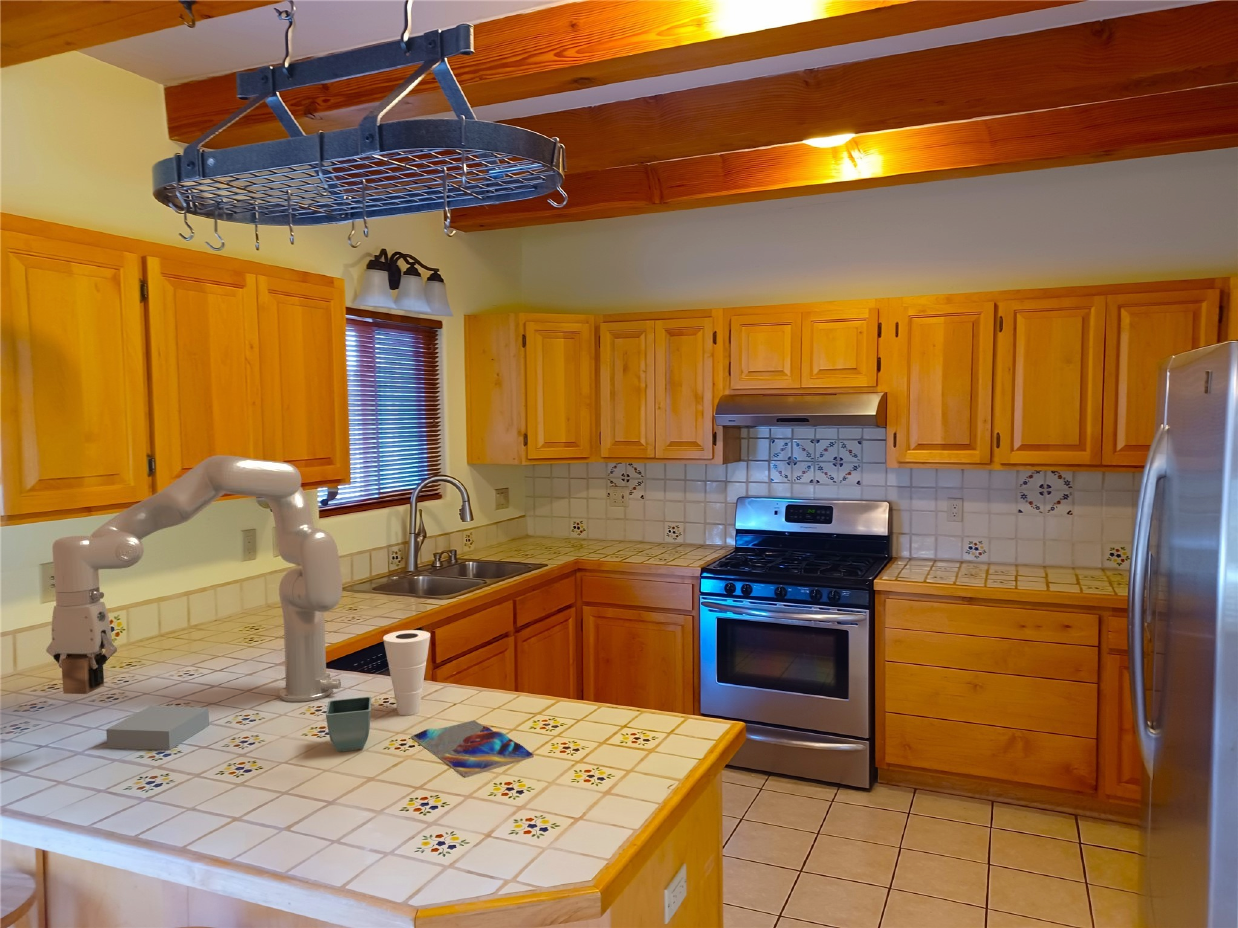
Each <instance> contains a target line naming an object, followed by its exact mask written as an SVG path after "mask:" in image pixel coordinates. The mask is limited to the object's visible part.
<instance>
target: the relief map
mask: <svg viewBox="0 0 1238 928" xmlns="http://www.w3.org/2000/svg"><path fill="white" fill-rule="evenodd" d="M410 738H411V739H413V741H414V742H416V743H417V744H418V745H420V746H422V747H423V748H424V749H425V750H427V751H428V752H430V753H432V754H433V755H434V756H435V757H436V758H438V759H439V760H441V761H442V762H444V763H445V764H446V765H448V766H449V767H451V768H452V769H453V770H455V771H456V772H457V773H459V775H461V776H463V777H464V778H469V777H472V776H475V775H480V774H482V773H486V772H489V771H493V770H495V769H499V768H502V767H506V766H510V765H512V764H515V763H518V762H522V761H526V760H529V759H532V758H534V753H532V752H531V751H529V750H528V749H527V748H526V747H525V746H524V745H522V744H521V743H518V742H516V741H514V740H513V739H512V738H510V737H509V736H508V735H507V734H505V733H504V732H503V731H500V730H493V729H492V728H491V727H489V726H485V725H483V724H481V723H479V722H478V721H476V720H475V719H473V720H470V721H465V722H461V723H458V724H453V725H449V726H445V727H439V728H426V729H425V730H422V731H420V732H418V733H415V734H414V735H411V736H410Z"/></svg>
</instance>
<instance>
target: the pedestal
mask: <svg viewBox="0 0 1238 928" xmlns="http://www.w3.org/2000/svg"><path fill="white" fill-rule="evenodd" d="M209 711H210V710H209V707H197V706H196V707H195V706H163V705H162V706H161V705H149V706H148V707H145V708H143V709H142V710H140V711H138V712H136V713H134V714H132V715H130V716H128V717H127V718H125V719H123V720H121V721H119V722H117V723H115V724H113V725H112V726H110V727H108V728H106V748H107V749H125V750H126V749H130V750H133V749H134V750H152V751H153V750H157V751H158V750H159V751H170V750H172V749H174V748H176V747H177V746H178V745H180V744H182V743H183V742H185V741H186V740H188V739H190V738H192V736H193V737H194V735H196V734H198V733H199V732H201V731H203V730H204V729H205V728H208V727H209V726H210V714H209V713H210V712H209Z"/></svg>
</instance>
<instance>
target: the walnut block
mask: <svg viewBox="0 0 1238 928" xmlns="http://www.w3.org/2000/svg"><path fill="white" fill-rule="evenodd" d="M95 656H96V659H97V655H95ZM61 665H62V668H61V676H62V679H61V680H62V690H63V691H62V692H63V694H64V695H65V694H66V695H87V694H90V693H92V692H95V691H96V690H98V689H100V688H103V687H105V682H104V683H103V684H101V685H99V686H97V687H95V688H90V680H89V669H90V668H92V667H91V665H90V662H89V658H88V656H87V654H74V655H71V656H69V657H67V658H64V659H61Z"/></svg>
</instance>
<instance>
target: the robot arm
mask: <svg viewBox="0 0 1238 928" xmlns="http://www.w3.org/2000/svg"><path fill="white" fill-rule="evenodd" d="M225 494H229V495H235V496H236V495H238V496H245V497H257V498H262V499H264V500H265V501H266V502H267V504H268V505H269V507H270V509H271V512H272V516H273V521H274V525H275V526H274V527H275V532H276V541H277V546H278V547H277V548H278V552H279V553H278V554H279V556H280V558H281V559H282V560H284V561H285V562H286V563H288V564H293V565H296V566H300V567H295V568H293V569H290V570H289V571H288V572H286V573H285V574H284V575H282V578H281V580H280V582H279V586H278V597H279V601H280V606H281V610H282V618H283V639H284V640H283V642H284V670H285V671H284V674H285V686H284V687H283V688H282V689H280V690H279V692H278V693H279V696H278V697H279V699H281V700H283V701H286V702H293V703H294V702H295V703H296V702H298V703H299V702H309V701H316V700H319V699H323V698H325V697H327V696H329V695H331V694H332V693H333V692H334V690H340V689H341V687H342V682H341V679H340V678H331V672H327V661H326V659H327V658H326V625H325V622H326V621H325V616H324V613H325V612H329V611H331V610H333V609H334V608H336V606H337V605H339V603H340V601H341V599H342V596H343V580H342V570H341V564H340V563H341V562H340V557H339V549H338V545H337V543H336V541H335V539H334V537H333V536H332V535H331V533H329V532H327V531H326V530H324V529H322V528H317V527H315V526H314V523H313V518H312V517H313V516H312V513H311V508H310V503H309V499H308V497H307V494H306V493H305V492H304V489H303V487H302V475H301V473H300V471H299V470H298V468H297V467H296V466H295V465H293V464H292V463H289V462H284V461H276V460H275V461H273V460H268V459H267V460H265V459H255V458H248V457H243V456H242V457H241V456H235V455H213V456H210V457H207V458H205V459H204V460H202V461H201V462H200V463H198V464H197V465H195V466H194V467H192V468H191V469H190V470H188V471H187V472H186V473H184V474H183V475H181V476H180V477H179V478H178V479H176V480H175V481H173V482H171V484H169V485H168V486H166V487H165V488H164V489H162V490H161V491H159V492H157V493H155V494H152V495H150V496H148V497H147V498H145V499H144V500H141V501H140V502H138V503H136V504H133V505H132V506H130V507H128V508H126V509H124V510H122V511H121V512H119V513H118V514H116V515H115V516H113V517H112V518H111V519H109V520H108V521H106V522H105V523H104V524H102V525H101V526H99V527H98V528H96V530H94V531H93V532H92V533H91V535H90V536H88V535H74V536H73V535H72V536H67V537H60V538H58V539H56V540H55V541H53V544H52V564H53V576H54V590H55V591H54V594H55V605H54V606H53V611H52V618H51V642H50V643H49V645H48V646H47V648H45V652H46V653H47V654H48V655H50V656H51V657H52V658H53V660H55V662H57V664H58V668H60V669H62V665H61V659H64V658H67V657H69V656H71V655H74V654H87V656H88V658H89V662H90V665H91V667H92V668H90V669H89V680H90V688H95V687H97V686H99V685H101V684H103V683H104V684H105V677H104V675H105V674H104V665H106V664H107V661H108V660H110V658H111V657H112V656H113V655H114V654H115V653H117V652H118V648H117V647H116V646H115V644H114V643H113V634H112V629H111V622H110V617H109V612H108V609H107V606H106V604H105V602H104V601H101V600H102V599H104V597H105V593H104V592H103V591H100V590H101V589H100V577H99V575H100V574H99V570H120V569H121V570H123V569H127V568H130V567H133V566H134V565H136V564H137V563H139V561H141V559H142V558H143V555H144V553H145V548H144V546H145V545H144V544H143V541H142V540H143V539H144V538H146V537H147V536H150V535H151V534H154V533H155V532H158V531H160V530H163V529H167V528H171V527H175V526H179V525H182V524H184V523H187V522H188V521H190V520H191V519H193V518H194V517H195V516H197V515H199V513H201V512H202V511H203V510H204V509H206V508H207V507H209V505H211V504H212V503H214V502H215V501H217V500H218V499H219V498H220V497H222V496H223V495H225ZM103 650H104V651H103ZM95 655H97V659H96V656H95Z"/></svg>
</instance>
